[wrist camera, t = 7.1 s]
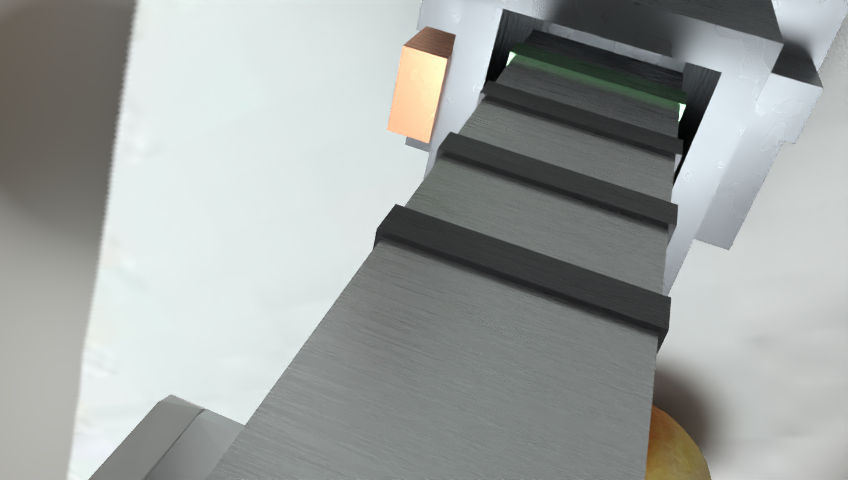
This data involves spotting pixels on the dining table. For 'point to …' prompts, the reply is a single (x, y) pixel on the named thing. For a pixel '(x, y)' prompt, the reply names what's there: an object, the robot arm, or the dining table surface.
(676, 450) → the fruit
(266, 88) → the dining table surface
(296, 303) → the dining table surface
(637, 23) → the stand
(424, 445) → the column
